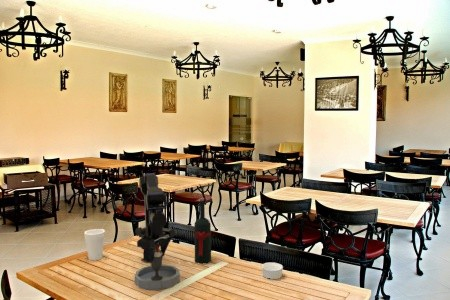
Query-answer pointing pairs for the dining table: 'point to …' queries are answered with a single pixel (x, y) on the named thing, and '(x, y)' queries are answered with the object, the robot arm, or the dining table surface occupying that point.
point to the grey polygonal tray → (168, 280)
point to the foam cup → (94, 243)
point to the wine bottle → (202, 237)
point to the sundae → (157, 263)
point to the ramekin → (272, 270)
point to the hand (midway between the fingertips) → (157, 258)
